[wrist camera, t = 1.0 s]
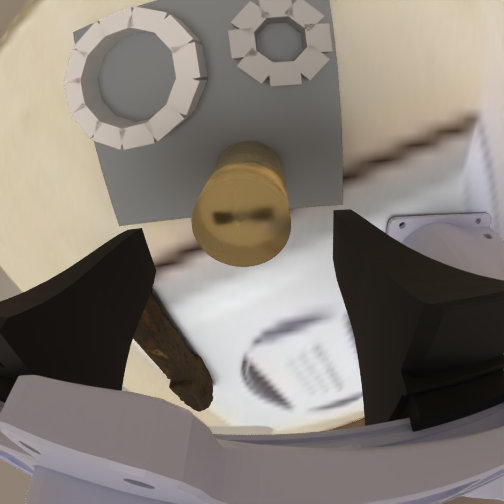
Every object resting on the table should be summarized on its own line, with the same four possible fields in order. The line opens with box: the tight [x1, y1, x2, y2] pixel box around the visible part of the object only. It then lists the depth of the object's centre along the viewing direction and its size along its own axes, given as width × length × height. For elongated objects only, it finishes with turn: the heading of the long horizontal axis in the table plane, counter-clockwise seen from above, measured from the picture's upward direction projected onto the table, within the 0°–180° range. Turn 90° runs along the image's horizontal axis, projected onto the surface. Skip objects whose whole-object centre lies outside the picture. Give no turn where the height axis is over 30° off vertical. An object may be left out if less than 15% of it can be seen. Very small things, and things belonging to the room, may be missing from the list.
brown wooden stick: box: [133, 294, 213, 411], centre depth 26 cm, size 19×4×5 cm, turn 18°
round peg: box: [192, 141, 291, 267], centre depth 15 cm, size 4×4×6 cm
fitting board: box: [64, 0, 343, 226], centre depth 15 cm, size 15×14×3 cm
